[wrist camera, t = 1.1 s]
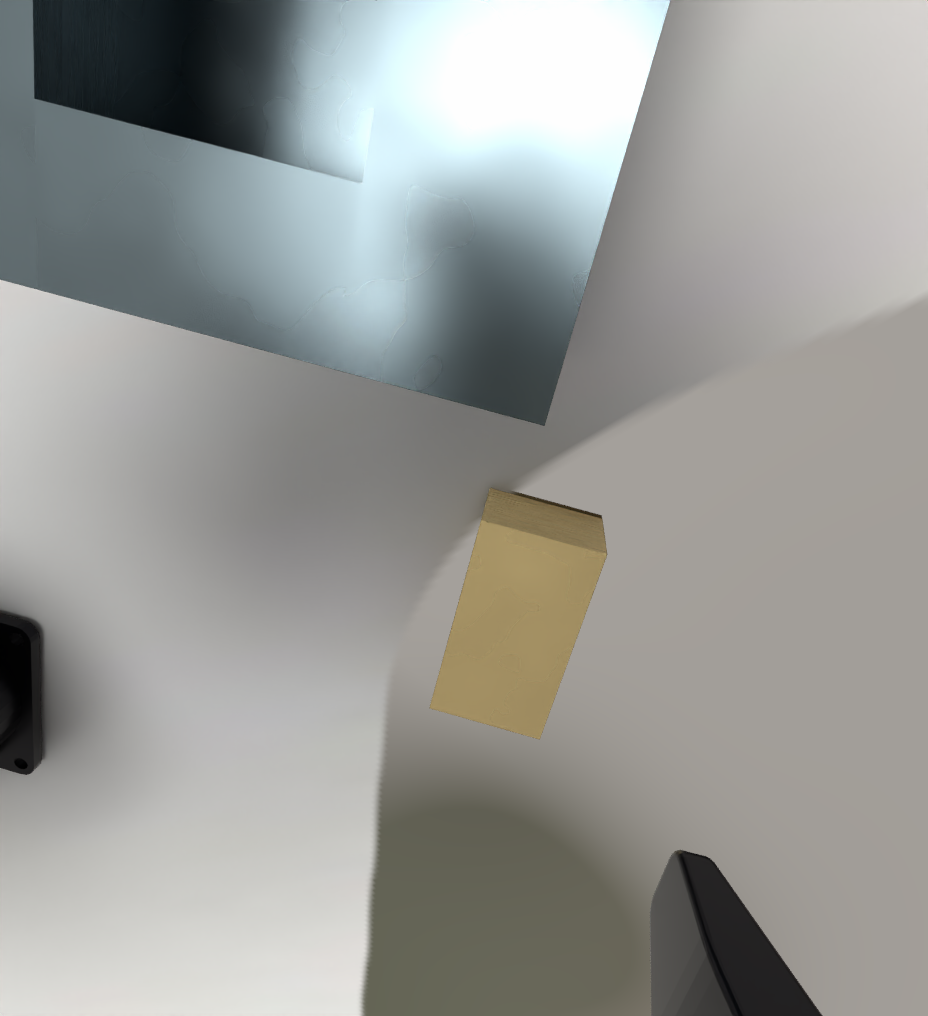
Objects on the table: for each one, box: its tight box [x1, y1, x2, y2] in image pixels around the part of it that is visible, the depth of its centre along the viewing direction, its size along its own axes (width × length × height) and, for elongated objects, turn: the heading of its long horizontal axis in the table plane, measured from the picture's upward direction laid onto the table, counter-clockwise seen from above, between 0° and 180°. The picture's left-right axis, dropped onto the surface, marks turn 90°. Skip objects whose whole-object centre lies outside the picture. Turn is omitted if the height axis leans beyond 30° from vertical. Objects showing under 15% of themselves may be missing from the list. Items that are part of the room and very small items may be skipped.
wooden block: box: [430, 488, 607, 739], centre depth 19 cm, size 6×3×2 cm, turn 166°
